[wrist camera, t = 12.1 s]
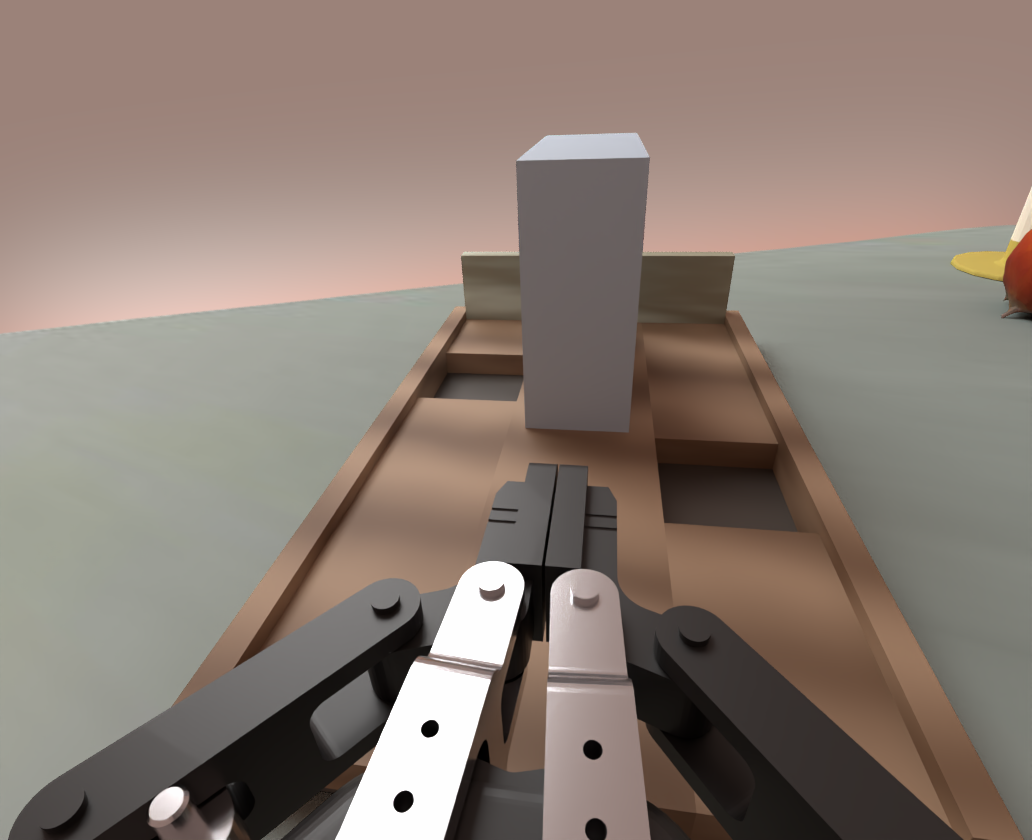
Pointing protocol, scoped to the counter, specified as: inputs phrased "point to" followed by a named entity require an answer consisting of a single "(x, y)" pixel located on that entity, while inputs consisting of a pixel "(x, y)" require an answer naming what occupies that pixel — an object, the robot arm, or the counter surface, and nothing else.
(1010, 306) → the fruit
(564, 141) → the block
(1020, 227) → the candle
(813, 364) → the counter surface
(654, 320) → the lane
